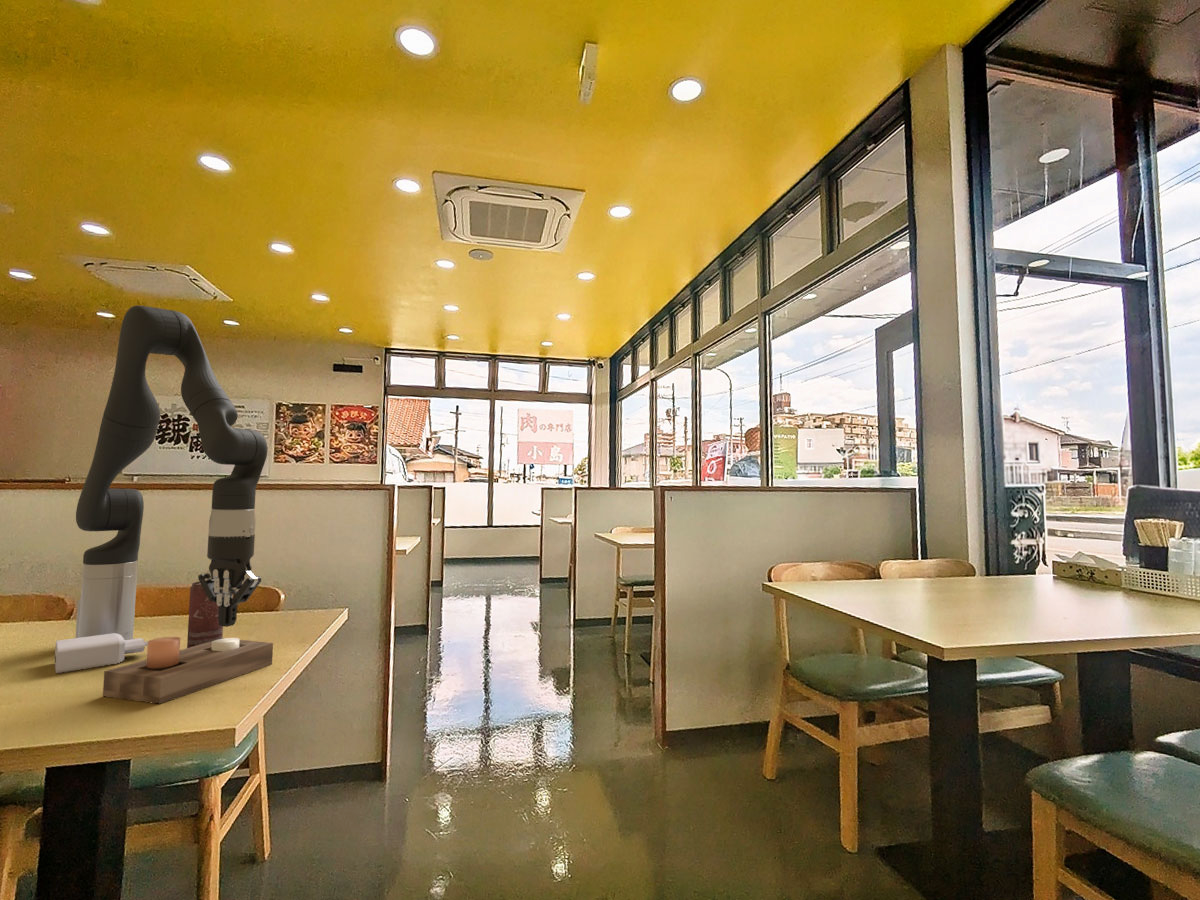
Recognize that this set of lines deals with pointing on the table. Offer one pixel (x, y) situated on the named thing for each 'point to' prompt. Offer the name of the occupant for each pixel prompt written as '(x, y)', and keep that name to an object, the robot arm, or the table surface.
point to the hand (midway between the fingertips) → (227, 625)
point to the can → (202, 618)
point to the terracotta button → (163, 652)
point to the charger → (94, 651)
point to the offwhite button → (225, 644)
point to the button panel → (185, 672)
